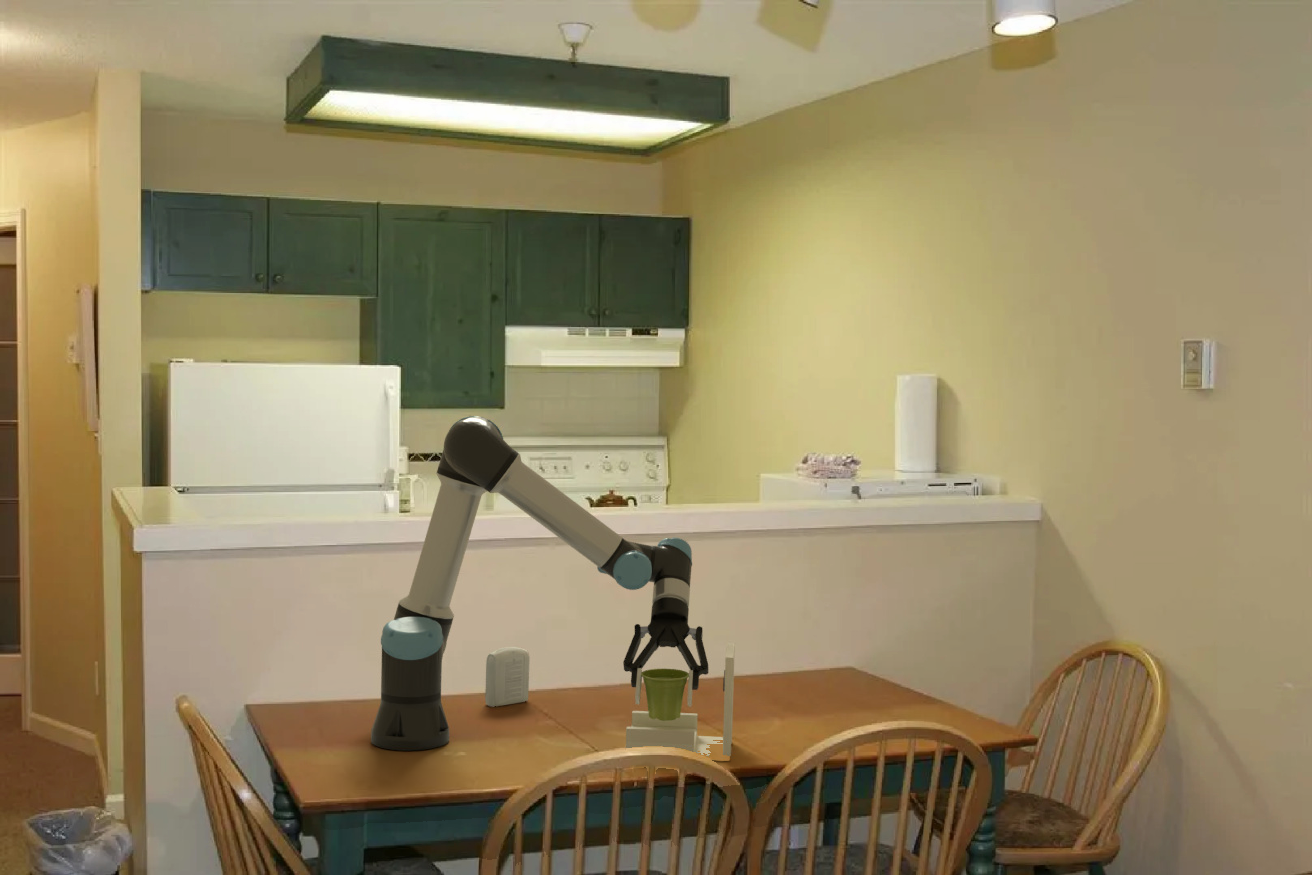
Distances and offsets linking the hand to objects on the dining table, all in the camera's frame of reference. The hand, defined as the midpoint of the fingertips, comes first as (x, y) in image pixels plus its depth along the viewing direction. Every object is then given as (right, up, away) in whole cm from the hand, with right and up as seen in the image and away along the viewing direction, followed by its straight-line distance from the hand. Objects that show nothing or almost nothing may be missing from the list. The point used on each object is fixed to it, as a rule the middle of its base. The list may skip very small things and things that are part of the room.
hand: (663, 701), depth 272 cm
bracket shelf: (+3, -10, +3) cm, 11 cm away
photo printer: (-34, -8, +37) cm, 51 cm away
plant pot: (0, -4, +3) cm, 5 cm away
